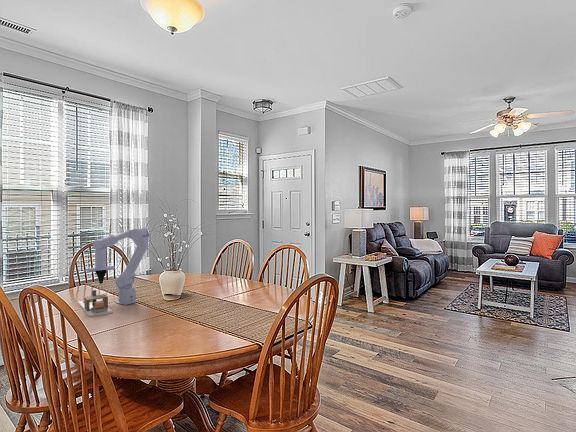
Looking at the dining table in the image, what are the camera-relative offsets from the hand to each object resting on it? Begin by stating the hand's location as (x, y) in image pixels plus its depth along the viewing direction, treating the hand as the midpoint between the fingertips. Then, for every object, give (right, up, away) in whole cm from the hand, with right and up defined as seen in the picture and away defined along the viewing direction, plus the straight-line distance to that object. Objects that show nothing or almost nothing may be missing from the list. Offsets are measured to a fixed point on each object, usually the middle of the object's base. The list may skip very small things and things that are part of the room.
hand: (100, 283), depth 210 cm
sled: (+7, -10, -18) cm, 22 cm away
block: (+11, -10, -22) cm, 27 cm away
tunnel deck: (+3, -11, -13) cm, 17 cm away
